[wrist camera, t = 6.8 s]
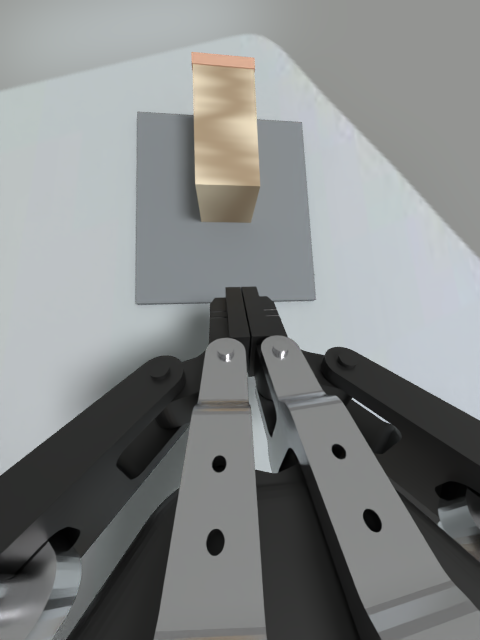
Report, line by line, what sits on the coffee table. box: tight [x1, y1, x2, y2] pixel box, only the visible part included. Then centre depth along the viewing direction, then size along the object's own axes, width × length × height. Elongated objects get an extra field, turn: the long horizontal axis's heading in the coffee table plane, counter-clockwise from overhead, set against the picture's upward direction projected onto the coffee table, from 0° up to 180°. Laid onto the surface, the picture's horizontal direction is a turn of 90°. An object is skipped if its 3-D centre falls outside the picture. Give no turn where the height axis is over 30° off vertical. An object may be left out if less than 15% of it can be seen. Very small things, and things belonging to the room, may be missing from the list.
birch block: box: [192, 52, 260, 223], centre depth 15 cm, size 4×4×9 cm
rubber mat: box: [136, 112, 316, 305], centre depth 17 cm, size 14×16×1 cm
